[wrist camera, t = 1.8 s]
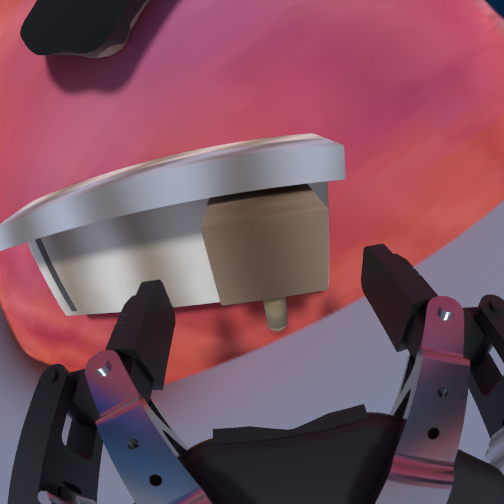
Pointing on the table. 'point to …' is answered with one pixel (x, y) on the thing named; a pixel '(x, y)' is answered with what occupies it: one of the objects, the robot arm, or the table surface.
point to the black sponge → (80, 26)
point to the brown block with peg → (267, 247)
